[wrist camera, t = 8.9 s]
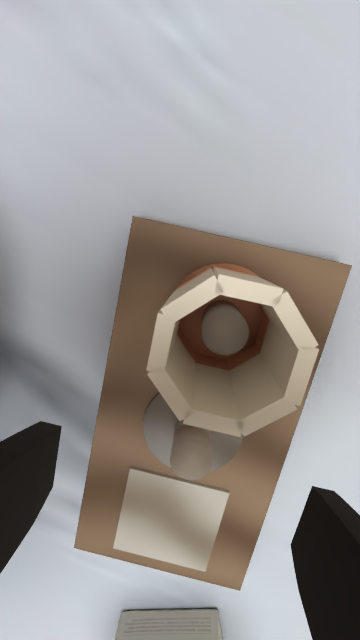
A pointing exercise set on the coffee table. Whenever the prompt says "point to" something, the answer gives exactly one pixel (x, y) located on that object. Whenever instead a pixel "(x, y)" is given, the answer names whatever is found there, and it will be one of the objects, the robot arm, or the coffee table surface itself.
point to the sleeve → (239, 371)
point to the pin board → (136, 388)
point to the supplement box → (169, 625)
